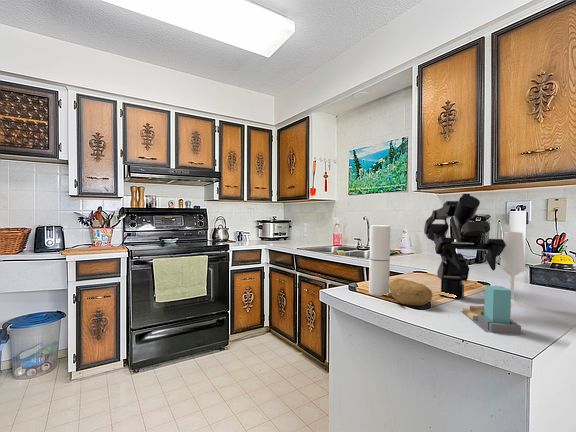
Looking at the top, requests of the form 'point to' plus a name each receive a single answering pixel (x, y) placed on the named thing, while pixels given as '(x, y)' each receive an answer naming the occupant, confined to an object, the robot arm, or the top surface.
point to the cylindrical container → (379, 260)
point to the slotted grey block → (497, 326)
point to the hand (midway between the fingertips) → (477, 269)
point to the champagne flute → (513, 259)
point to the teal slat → (497, 304)
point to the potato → (410, 292)
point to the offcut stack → (473, 311)
